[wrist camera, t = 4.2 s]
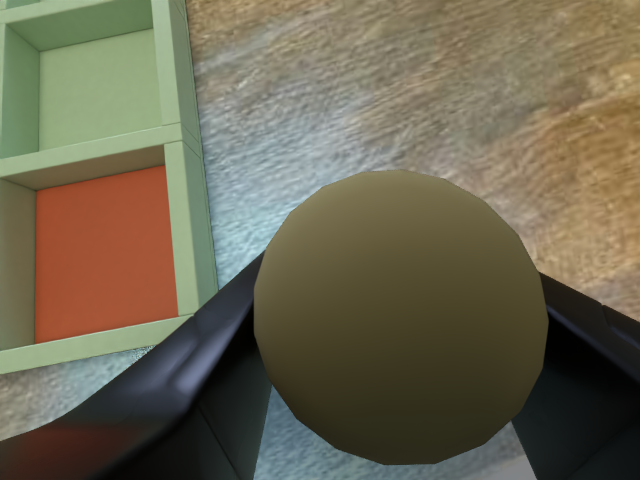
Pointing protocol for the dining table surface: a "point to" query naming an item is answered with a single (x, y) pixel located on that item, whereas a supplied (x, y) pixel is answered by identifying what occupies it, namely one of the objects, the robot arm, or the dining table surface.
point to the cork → (400, 317)
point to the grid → (98, 180)
